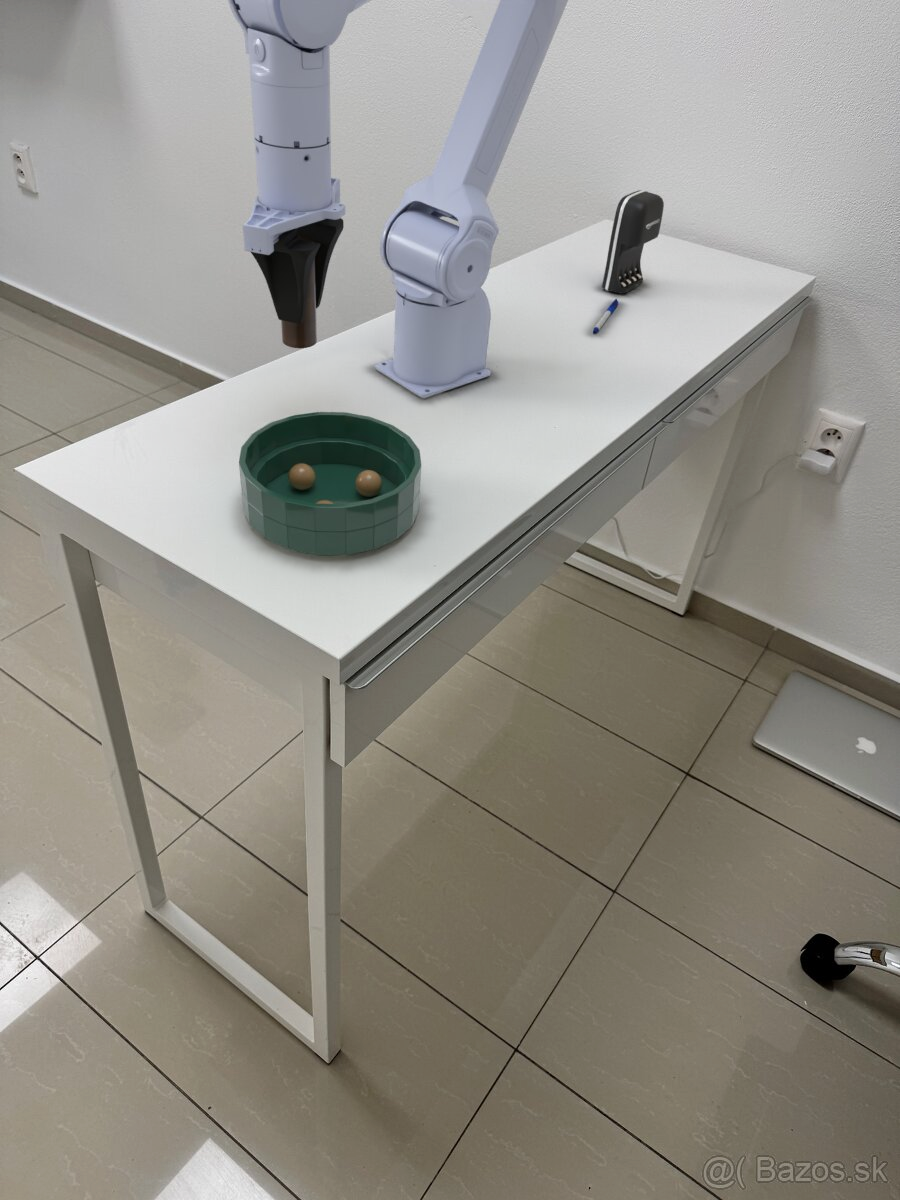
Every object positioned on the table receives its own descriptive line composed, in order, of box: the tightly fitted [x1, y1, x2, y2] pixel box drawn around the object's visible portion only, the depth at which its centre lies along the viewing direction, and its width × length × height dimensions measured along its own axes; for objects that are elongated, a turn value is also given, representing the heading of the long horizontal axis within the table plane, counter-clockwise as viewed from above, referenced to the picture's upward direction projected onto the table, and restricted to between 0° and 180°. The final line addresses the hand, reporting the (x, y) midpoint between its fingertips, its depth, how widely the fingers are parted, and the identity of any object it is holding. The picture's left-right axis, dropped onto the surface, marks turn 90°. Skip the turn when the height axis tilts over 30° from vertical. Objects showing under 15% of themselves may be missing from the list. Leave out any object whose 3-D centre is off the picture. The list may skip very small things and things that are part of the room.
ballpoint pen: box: [592, 298, 619, 334], centre depth 105 cm, size 10×1×1 cm, turn 159°
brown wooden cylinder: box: [280, 237, 318, 349], centre depth 74 cm, size 3×3×8 cm
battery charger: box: [601, 189, 665, 294], centre depth 110 cm, size 7×4×11 cm, turn 143°
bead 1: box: [288, 463, 315, 490], centre depth 71 cm, size 2×2×2 cm
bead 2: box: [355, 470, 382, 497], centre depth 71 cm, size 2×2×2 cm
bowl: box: [238, 411, 422, 557], centre depth 70 cm, size 14×14×5 cm
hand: (299, 312), depth 75 cm, fingers closed on brown wooden cylinder, 3 cm apart
